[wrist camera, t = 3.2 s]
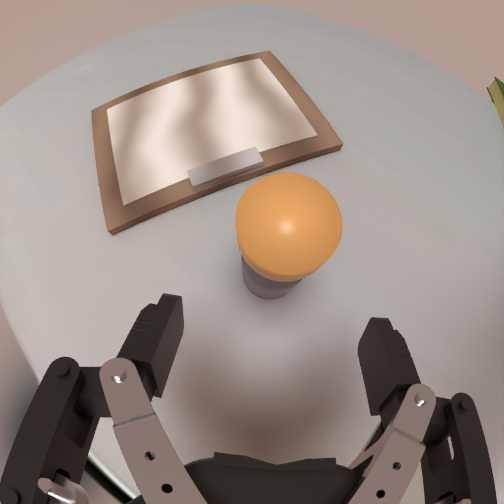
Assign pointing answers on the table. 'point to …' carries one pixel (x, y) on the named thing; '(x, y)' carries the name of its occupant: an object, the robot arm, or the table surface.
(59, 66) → the table surface
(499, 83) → the hardcover book
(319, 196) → the orange and grey cylinder
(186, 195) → the clipboard
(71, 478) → the robot arm
